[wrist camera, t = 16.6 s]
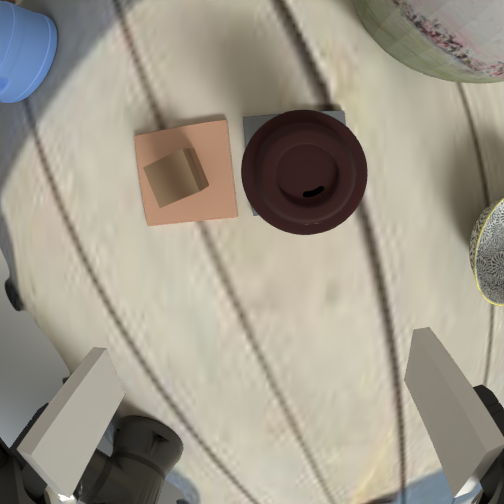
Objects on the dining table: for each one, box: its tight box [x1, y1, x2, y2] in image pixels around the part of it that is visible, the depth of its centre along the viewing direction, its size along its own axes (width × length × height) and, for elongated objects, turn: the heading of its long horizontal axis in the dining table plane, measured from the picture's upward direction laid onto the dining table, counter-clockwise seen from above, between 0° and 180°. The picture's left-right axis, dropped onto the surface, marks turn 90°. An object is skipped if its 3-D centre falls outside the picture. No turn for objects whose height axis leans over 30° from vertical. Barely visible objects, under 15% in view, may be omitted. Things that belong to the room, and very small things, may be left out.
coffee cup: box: [241, 110, 367, 235], centre depth 29 cm, size 10×10×15 cm
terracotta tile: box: [134, 120, 238, 226], centre depth 38 cm, size 12×12×1 cm
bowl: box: [469, 197, 504, 306], centre depth 34 cm, size 16×16×8 cm
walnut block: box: [143, 148, 209, 208], centre depth 35 cm, size 5×5×5 cm
